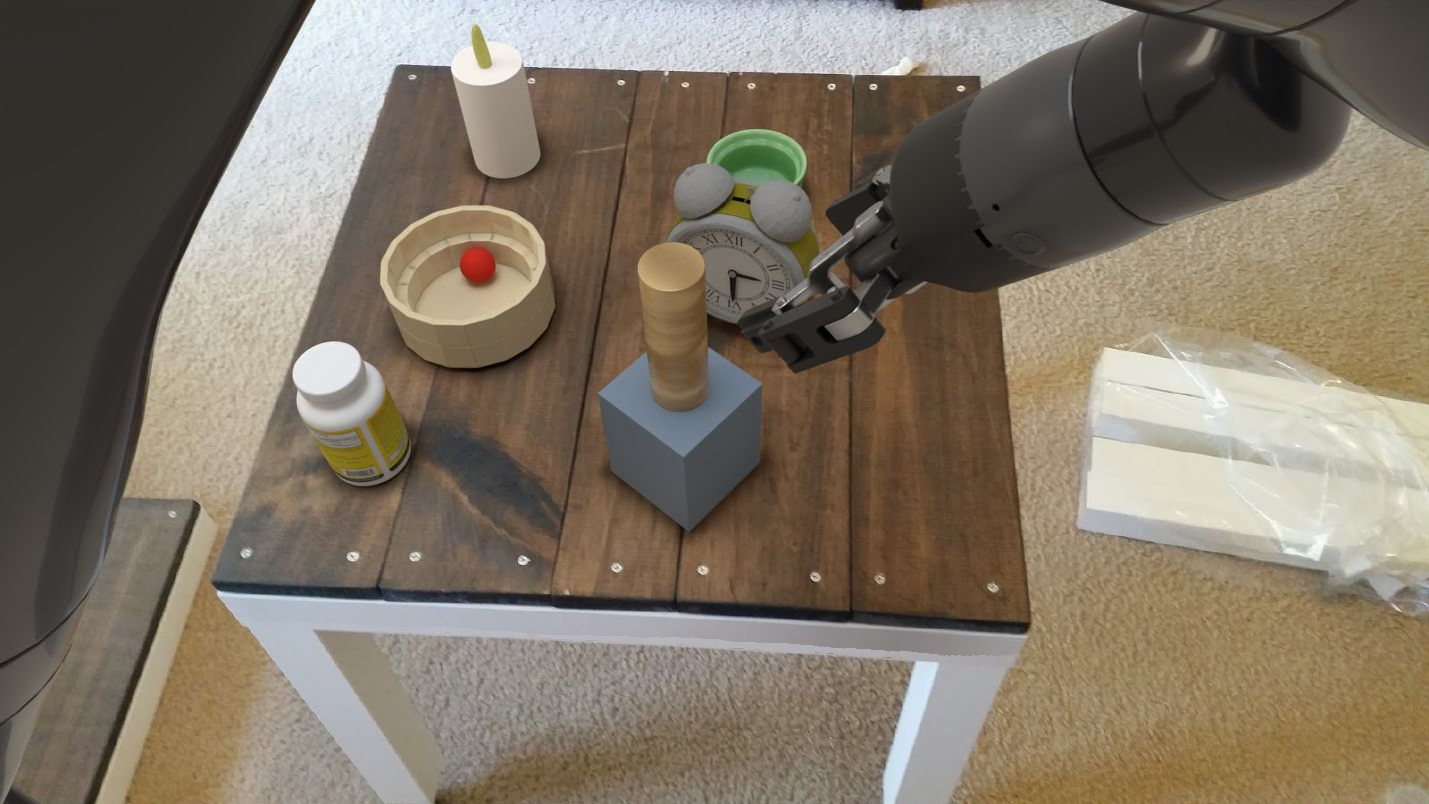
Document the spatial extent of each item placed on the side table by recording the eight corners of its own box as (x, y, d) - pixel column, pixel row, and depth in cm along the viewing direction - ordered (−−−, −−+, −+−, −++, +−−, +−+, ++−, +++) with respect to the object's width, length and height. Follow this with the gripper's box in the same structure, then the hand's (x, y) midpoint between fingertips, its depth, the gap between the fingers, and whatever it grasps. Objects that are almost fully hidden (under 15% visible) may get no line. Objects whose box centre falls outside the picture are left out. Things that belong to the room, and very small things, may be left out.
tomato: (479, 295, 89) (472, 271, 87) (456, 278, 91) (448, 254, 88) (505, 275, 91) (499, 251, 88) (482, 259, 92) (476, 234, 90)
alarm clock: (665, 320, 88) (654, 185, 76) (694, 264, 92) (687, 127, 80) (798, 356, 86) (808, 222, 74) (821, 297, 90) (835, 160, 77)
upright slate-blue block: (689, 532, 76) (683, 457, 68) (611, 471, 79) (597, 393, 71) (760, 462, 80) (762, 383, 72) (682, 407, 83) (676, 324, 75)
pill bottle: (389, 409, 83) (347, 317, 74) (427, 459, 80) (388, 371, 71) (317, 450, 81) (265, 361, 72) (354, 503, 78) (304, 418, 69)
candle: (541, 131, 103) (515, -7, 91) (539, 176, 99) (512, 38, 87) (477, 135, 103) (442, -3, 91) (472, 180, 99) (436, 42, 87)
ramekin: (758, 152, 101) (759, 115, 97) (825, 200, 96) (828, 163, 93) (687, 195, 97) (685, 158, 94) (753, 247, 93) (753, 211, 90)
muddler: (681, 421, 70) (673, 301, 60) (638, 390, 71) (623, 268, 62) (721, 385, 72) (719, 263, 62) (678, 355, 73) (669, 231, 63)
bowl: (470, 400, 84) (453, 352, 79) (367, 317, 89) (346, 268, 84) (588, 305, 89) (580, 256, 85) (484, 232, 95) (471, 182, 90)
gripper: (1058, -10, 42) (819, 137, 56) (889, 215, 36) (667, 318, 49) (1161, 133, 44) (906, 240, 58) (1019, 370, 38) (771, 427, 51)
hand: (796, 276), depth 54 cm, fingers open, 8 cm apart
